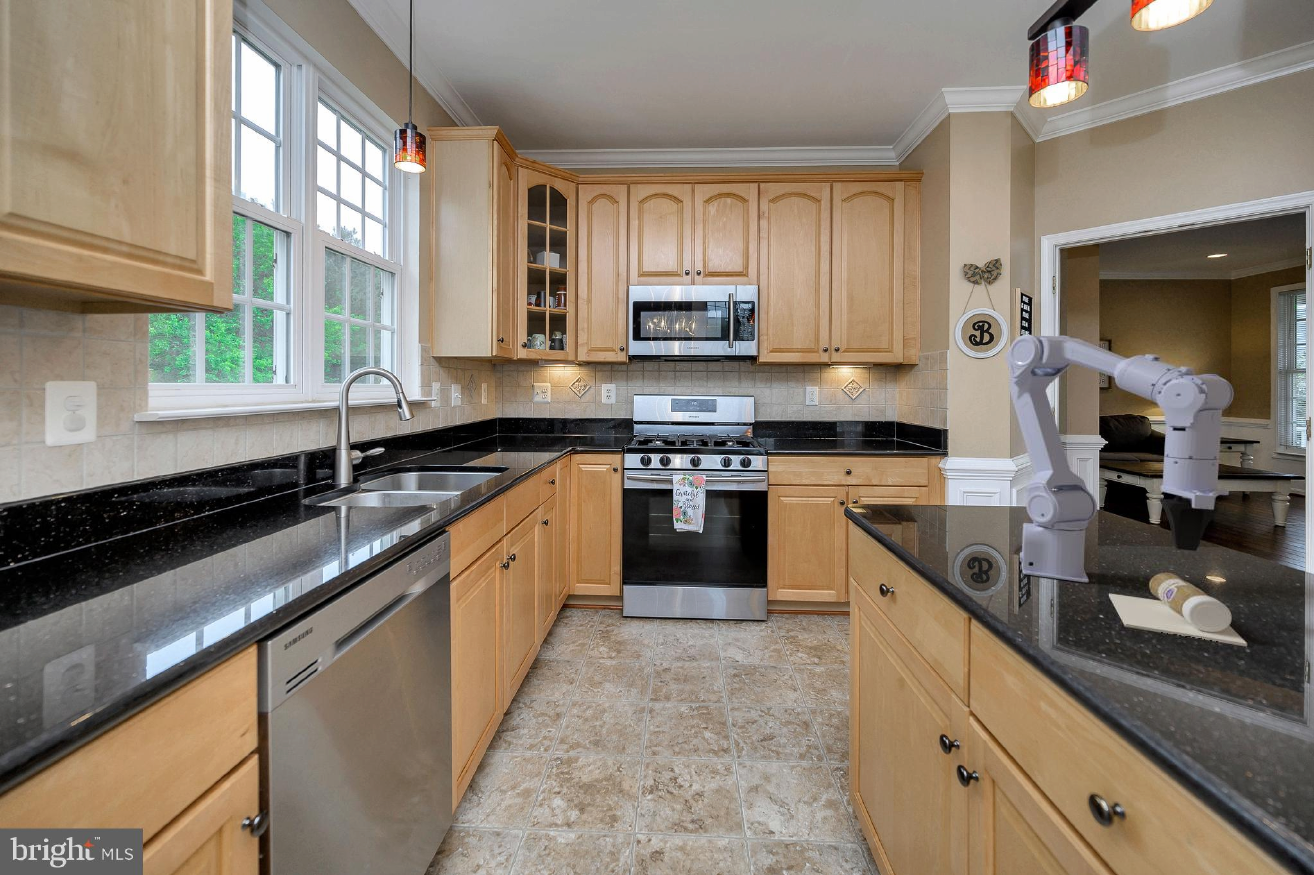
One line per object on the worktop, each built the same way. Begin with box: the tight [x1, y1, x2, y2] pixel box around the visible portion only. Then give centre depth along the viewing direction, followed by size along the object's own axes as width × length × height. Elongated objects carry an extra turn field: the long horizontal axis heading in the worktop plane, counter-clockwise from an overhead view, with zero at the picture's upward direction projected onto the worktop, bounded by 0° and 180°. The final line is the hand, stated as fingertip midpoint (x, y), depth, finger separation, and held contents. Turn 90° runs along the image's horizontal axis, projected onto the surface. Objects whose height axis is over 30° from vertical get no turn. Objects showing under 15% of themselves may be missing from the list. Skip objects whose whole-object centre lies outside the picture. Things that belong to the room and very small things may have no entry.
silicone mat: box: [1108, 593, 1248, 647], centre depth 79 cm, size 12×14×1 cm
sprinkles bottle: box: [1148, 572, 1232, 632], centre depth 79 cm, size 5×5×13 cm
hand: (1185, 549), depth 80 cm, fingers closed
